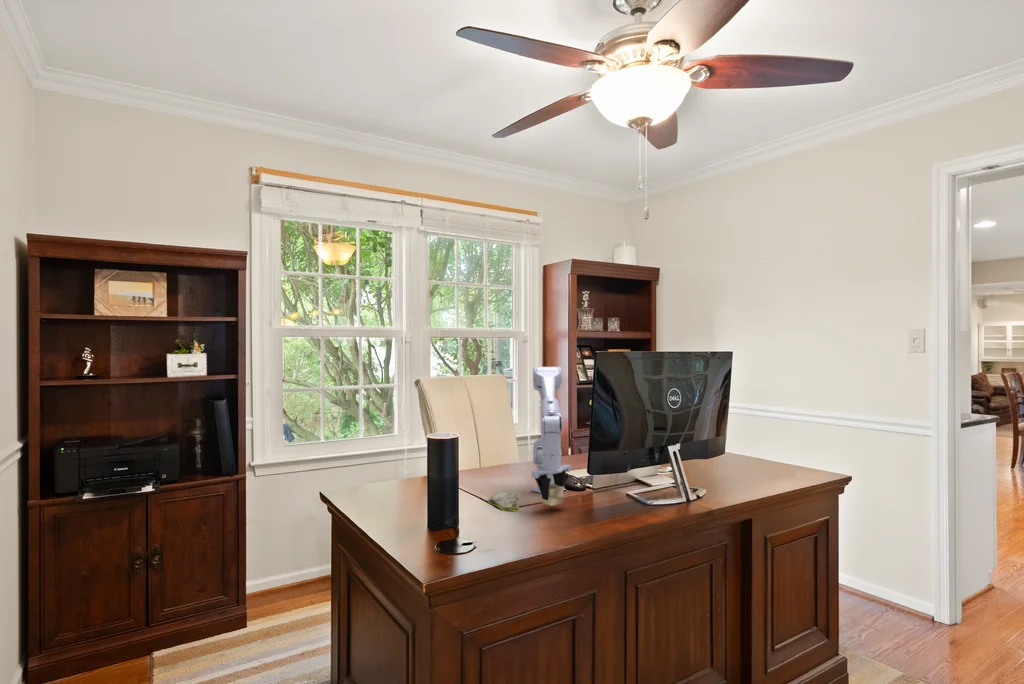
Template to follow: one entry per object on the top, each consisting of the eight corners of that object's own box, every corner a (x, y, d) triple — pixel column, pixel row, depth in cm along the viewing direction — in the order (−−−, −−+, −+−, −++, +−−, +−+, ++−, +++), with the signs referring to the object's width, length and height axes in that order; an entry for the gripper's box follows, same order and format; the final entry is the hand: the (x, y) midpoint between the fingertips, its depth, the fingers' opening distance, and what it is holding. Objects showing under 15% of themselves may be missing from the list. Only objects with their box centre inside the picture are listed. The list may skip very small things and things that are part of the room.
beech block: (552, 499, 179) (552, 483, 179) (563, 502, 175) (563, 486, 175) (540, 502, 176) (540, 486, 176) (551, 505, 172) (551, 489, 172)
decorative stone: (485, 494, 197) (485, 483, 197) (514, 493, 198) (514, 482, 198) (488, 513, 174) (488, 500, 174) (521, 512, 175) (521, 499, 175)
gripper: (542, 459, 168) (542, 504, 168) (577, 453, 177) (577, 496, 177) (527, 455, 174) (527, 499, 174) (561, 449, 182) (562, 491, 183)
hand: (551, 497), depth 176 cm, fingers closed on beech block, 5 cm apart
